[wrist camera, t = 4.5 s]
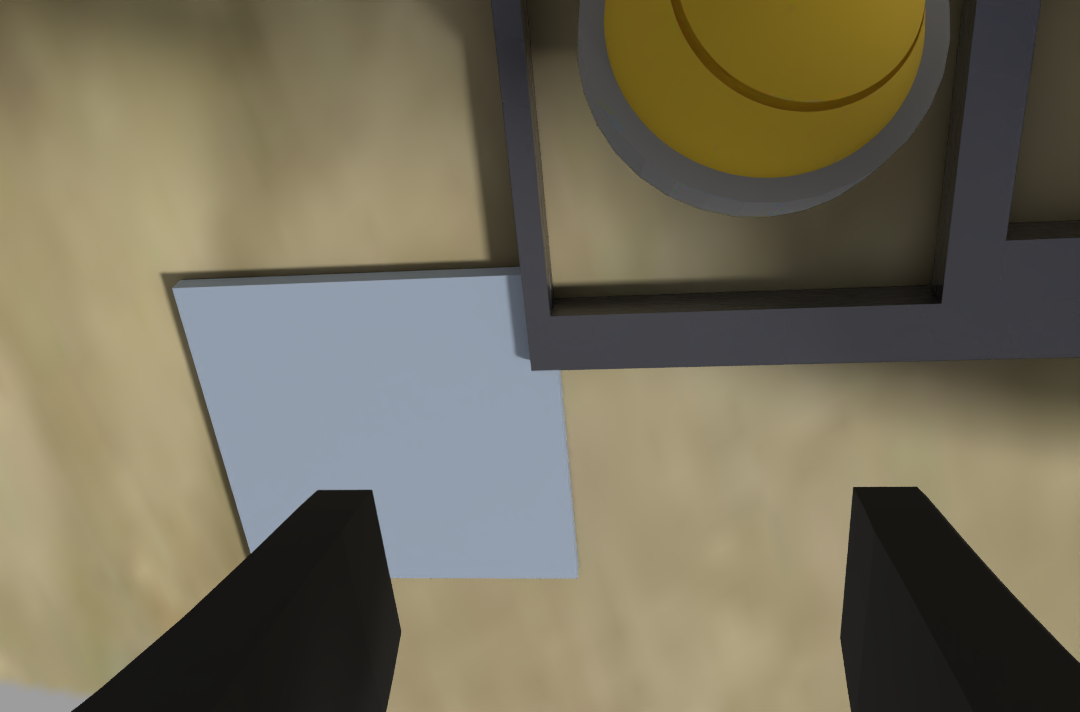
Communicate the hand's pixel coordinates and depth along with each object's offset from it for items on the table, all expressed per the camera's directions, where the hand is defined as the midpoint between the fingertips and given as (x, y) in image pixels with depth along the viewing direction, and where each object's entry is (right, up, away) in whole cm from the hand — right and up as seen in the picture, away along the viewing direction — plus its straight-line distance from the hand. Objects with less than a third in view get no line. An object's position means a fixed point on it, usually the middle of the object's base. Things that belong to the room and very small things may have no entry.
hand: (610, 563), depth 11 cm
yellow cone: (+3, +7, +8) cm, 11 cm away
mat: (-4, 0, +12) cm, 13 cm away
